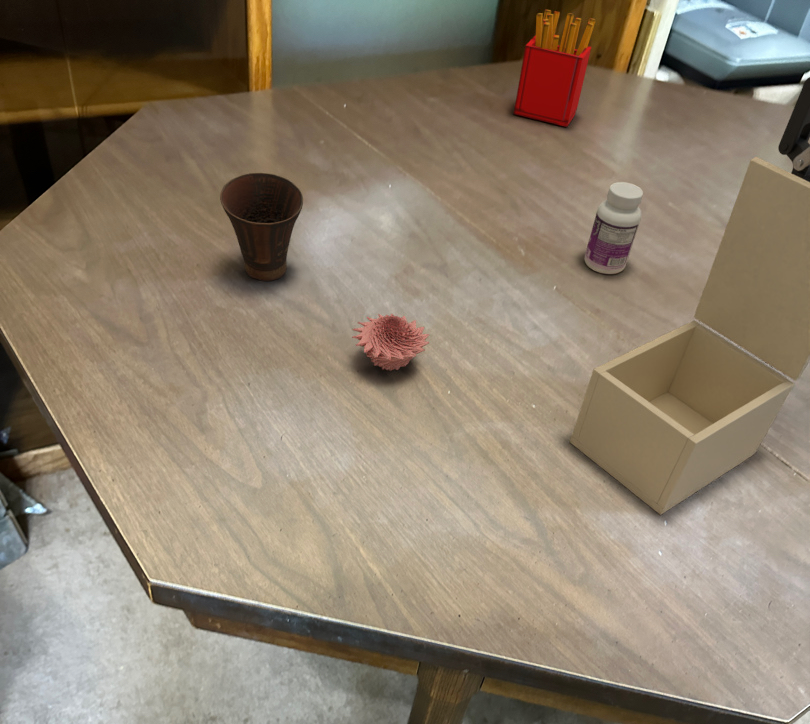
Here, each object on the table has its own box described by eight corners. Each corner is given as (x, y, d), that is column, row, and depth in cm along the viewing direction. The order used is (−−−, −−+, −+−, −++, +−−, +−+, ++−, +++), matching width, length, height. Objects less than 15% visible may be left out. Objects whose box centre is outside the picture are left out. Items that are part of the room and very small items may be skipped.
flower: (440, 376, 80) (446, 331, 76) (372, 396, 77) (375, 350, 73) (403, 335, 85) (407, 290, 80) (337, 352, 82) (338, 306, 77)
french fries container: (524, 101, 131) (542, 5, 120) (576, 114, 129) (598, 17, 119) (512, 116, 127) (529, 17, 116) (566, 129, 125) (588, 30, 114)
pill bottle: (588, 249, 100) (609, 174, 93) (628, 260, 99) (652, 185, 92) (578, 268, 97) (599, 193, 89) (620, 280, 96) (645, 204, 88)
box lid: (880, 222, 57) (921, 197, 59) (750, 159, 62) (792, 138, 64) (795, 381, 69) (831, 356, 71) (693, 317, 75) (729, 295, 77)
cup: (249, 305, 86) (241, 219, 78) (215, 266, 90) (205, 181, 83) (318, 286, 89) (318, 202, 82) (282, 249, 94) (279, 166, 86)
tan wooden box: (660, 515, 70) (696, 443, 63) (569, 442, 75) (593, 368, 69) (754, 454, 76) (795, 383, 70) (664, 391, 82) (694, 319, 75)
